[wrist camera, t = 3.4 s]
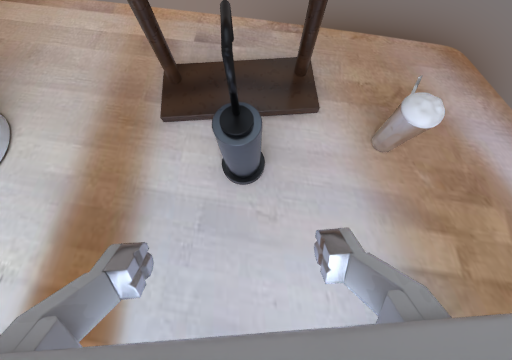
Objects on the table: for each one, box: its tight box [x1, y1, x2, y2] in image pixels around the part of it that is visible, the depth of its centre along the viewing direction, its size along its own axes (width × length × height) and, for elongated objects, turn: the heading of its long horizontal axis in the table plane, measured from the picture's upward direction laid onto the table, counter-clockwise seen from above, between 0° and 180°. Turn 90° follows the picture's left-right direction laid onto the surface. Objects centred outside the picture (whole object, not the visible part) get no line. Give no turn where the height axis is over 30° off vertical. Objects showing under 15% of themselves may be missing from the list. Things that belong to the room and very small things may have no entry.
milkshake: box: [372, 76, 445, 152], centre depth 27 cm, size 4×5×10 cm
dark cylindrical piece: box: [212, 0, 265, 184], centre depth 22 cm, size 8×6×18 cm
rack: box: [127, 0, 328, 122], centre depth 23 cm, size 10×24×25 cm, turn 94°
